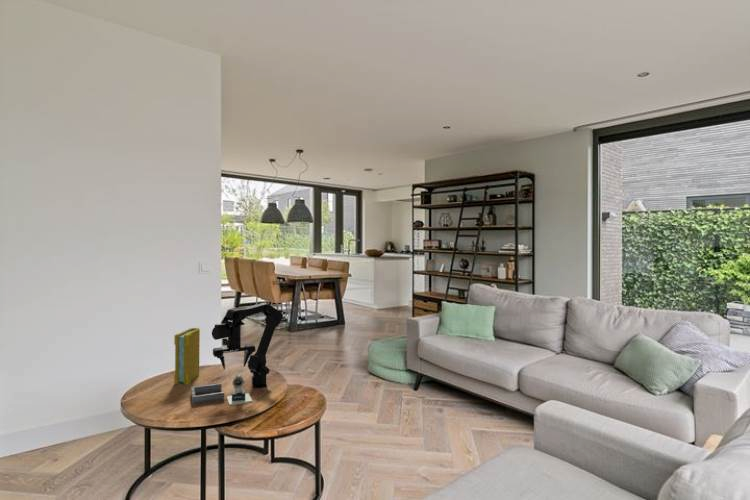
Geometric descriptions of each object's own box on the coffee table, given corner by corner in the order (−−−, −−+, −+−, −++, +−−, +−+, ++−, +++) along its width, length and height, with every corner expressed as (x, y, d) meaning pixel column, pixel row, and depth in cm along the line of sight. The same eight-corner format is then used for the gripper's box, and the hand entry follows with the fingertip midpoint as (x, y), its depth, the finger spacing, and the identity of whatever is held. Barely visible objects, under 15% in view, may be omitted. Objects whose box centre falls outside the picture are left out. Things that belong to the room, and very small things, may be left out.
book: (187, 384, 207) (187, 335, 206) (174, 384, 207) (174, 335, 206) (201, 373, 224) (202, 328, 223) (189, 373, 224) (190, 327, 223)
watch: (231, 402, 183) (231, 378, 183) (233, 395, 191) (233, 372, 191) (244, 401, 185) (244, 377, 184) (245, 395, 192) (246, 372, 192)
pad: (248, 394, 195) (248, 393, 195) (252, 401, 186) (252, 400, 186) (226, 397, 191) (226, 396, 191) (229, 405, 182) (229, 404, 182)
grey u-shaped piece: (221, 390, 200) (221, 383, 200) (224, 400, 188) (224, 392, 188) (191, 394, 194) (191, 387, 194) (192, 404, 182) (192, 397, 182)
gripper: (250, 329, 205) (250, 360, 206) (211, 333, 196) (211, 365, 197) (255, 334, 196) (255, 366, 196) (214, 339, 186) (214, 372, 187)
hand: (234, 367), depth 194 cm, fingers open, 9 cm apart
